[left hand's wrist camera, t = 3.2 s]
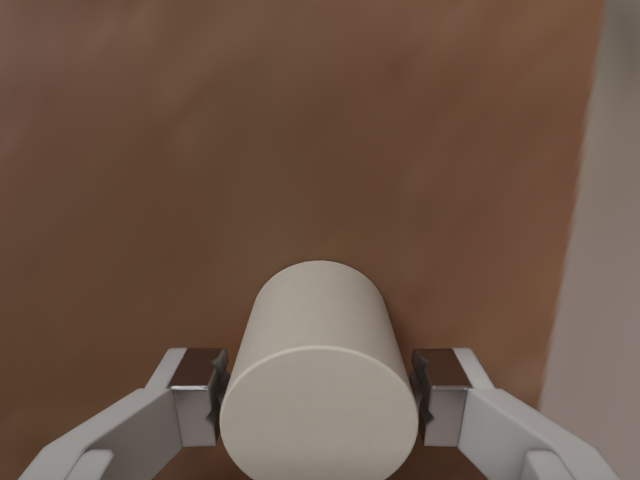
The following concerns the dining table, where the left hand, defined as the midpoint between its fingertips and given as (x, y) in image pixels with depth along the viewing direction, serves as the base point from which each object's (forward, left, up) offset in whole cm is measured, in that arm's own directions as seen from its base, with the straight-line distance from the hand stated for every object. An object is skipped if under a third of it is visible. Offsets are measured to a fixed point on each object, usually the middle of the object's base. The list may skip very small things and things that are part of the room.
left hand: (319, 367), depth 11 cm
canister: (0, 0, -2) cm, 2 cm away
